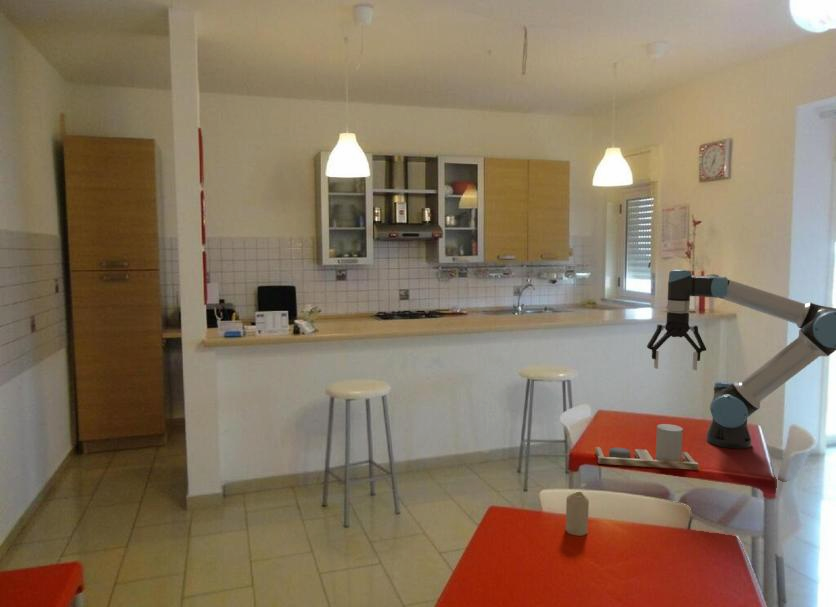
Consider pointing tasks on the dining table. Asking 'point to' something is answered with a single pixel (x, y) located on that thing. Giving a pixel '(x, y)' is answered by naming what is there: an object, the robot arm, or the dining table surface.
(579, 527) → the candle
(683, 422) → the dining table surface
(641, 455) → the slot rack
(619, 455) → the puck
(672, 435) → the grey cylinder
